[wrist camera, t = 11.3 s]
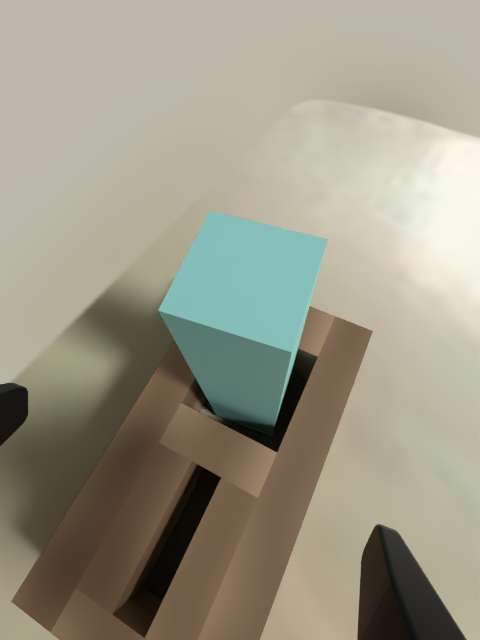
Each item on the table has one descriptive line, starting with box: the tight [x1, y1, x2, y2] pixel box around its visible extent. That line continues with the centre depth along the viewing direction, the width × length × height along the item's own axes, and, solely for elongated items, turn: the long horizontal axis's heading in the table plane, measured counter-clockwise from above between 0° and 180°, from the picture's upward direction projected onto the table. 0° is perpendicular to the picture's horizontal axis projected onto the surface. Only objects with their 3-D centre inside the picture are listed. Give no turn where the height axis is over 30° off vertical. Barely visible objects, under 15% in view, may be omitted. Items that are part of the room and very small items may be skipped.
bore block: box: [11, 306, 373, 640], centre depth 17 cm, size 9×17×4 cm, turn 153°
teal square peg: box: [158, 211, 328, 436], centre depth 15 cm, size 3×3×13 cm
